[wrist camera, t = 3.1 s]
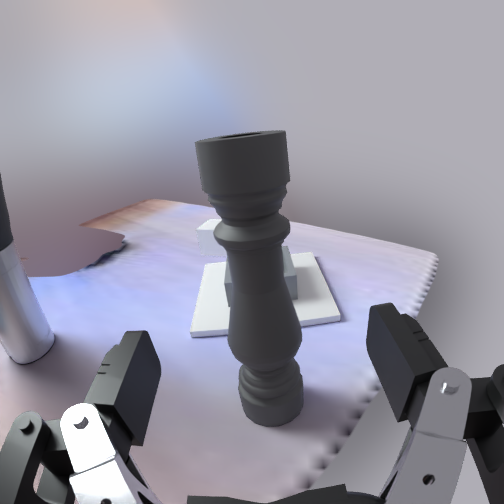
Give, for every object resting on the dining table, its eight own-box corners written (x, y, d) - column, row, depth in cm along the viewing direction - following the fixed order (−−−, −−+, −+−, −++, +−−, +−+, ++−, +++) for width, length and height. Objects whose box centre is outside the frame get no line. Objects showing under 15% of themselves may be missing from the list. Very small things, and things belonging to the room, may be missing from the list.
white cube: (227, 257, 62) (222, 229, 59) (201, 256, 64) (195, 229, 61) (238, 245, 67) (234, 219, 64) (213, 244, 69) (208, 219, 66)
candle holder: (310, 418, 26) (303, 131, 16) (247, 432, 25) (188, 146, 15) (294, 375, 32) (276, 129, 21) (239, 386, 31) (192, 140, 21)
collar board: (191, 337, 40) (182, 307, 38) (206, 268, 58) (201, 244, 56) (340, 320, 39) (341, 289, 37) (311, 256, 57) (310, 231, 55)
